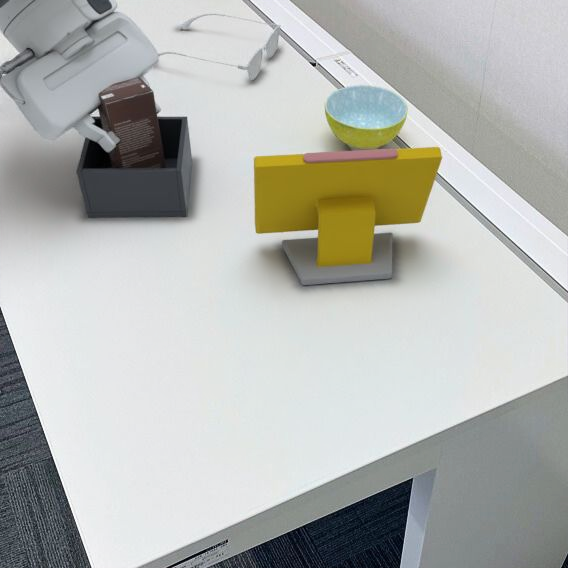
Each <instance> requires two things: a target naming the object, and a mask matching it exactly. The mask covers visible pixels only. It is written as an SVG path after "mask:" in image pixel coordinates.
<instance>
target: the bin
mask: <svg viewBox="0 0 568 568" xmlns="http://www.w3.org/2000/svg"><path fill="white" fill-rule="evenodd" d="M90 116H91V117H92V118H93V119H94V120H95V122H94V123H93V125H95V126H97V127H99V128H100V129H102V130H103V127H102V123H101V119H100V115H99V116H97V115H96V116H93V115H90ZM157 118H158V123H159V129H160V136H161V141H162V147H163V153H164V160H165V166H166V168H119V169H112V166H111V162H110V158H109V153H108V152H106V151H105V150H104V149H103V148H102V147H101V145H100V144H99V143H98V142H95V141H93V140H91V139H88V138H86V137H84V142H83V145H82V150H81V152H80V157H79V160H78V164H77V167H76V170H75V172H76V175H77V176H76V177H77V180H78V184H79V188H80V192H81V196H82V200H83V205H84V208H85V212H86V217H87V218H142V217H143V218H145V217H146V218H148V217H149V218H150V217H151V218H153V217H154V218H155V217H160V218H161V217H188V209H189V200H190V198H189V197H190V190H191V189H190V188H191V179H192V177H191V176H192V168H193V167H192V166H193V156H192V147H191V138H190V130H189V121H188V116H157Z"/></svg>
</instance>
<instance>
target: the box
mask: <svg viewBox="0 0 568 568" xmlns="http://www.w3.org/2000/svg"><path fill="white" fill-rule="evenodd" d="M149 86H150V85H149ZM149 86H148V85H147V84H146V83H145V82H144V81H143V80H142V79H141V78H140V77H137V78H133V79H129V80H126V81H122V82H118V83H114V84H112V85H111V86H109V87H107V88H106V89H104V90H103V91H101V92H100V93H99V94H98V95H99V98H100V101H101V104H100V105H99V106H98V109H97V110H98V115H99V116H100V119H101V123H102V127H103V130H104V131H106V132H109V131H110V130H112V131H113V132H114V133H115V134H116V136H117V137H118V138H119V139H120V141H121V143H120V144H119V145H118V146H116V147H115V148H114V149H113V150H112V151H110V152H108V153H109V158H110V162H111V166H112V169H119V168H166V166H165V160H164V153H163V147H162V141H161V136H160V129H159V123H158V118H157V117H158V114H157V111H156V105H155V102H156V100H155V92H154V90H153V89H152V87H151V86H150V87H149Z"/></svg>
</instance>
